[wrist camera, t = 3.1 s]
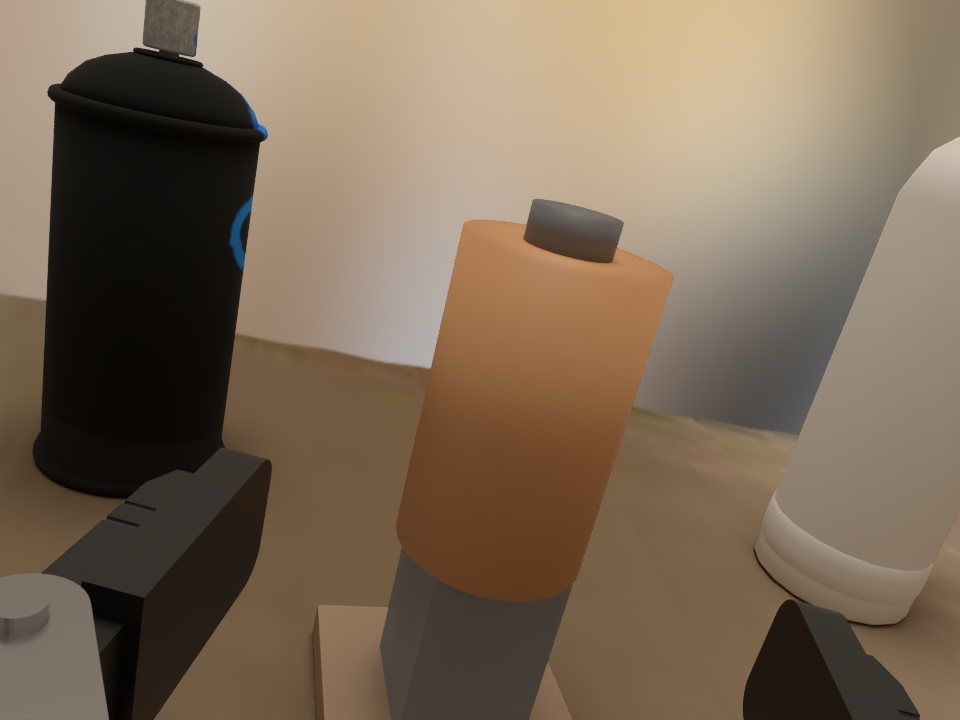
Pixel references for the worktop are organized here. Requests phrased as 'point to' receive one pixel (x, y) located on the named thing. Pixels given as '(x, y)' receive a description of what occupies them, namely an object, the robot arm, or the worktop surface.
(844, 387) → the bottle
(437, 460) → the orange battery
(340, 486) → the worktop surface
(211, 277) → the aerosol can
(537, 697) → the grey holder stand
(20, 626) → the robot arm
